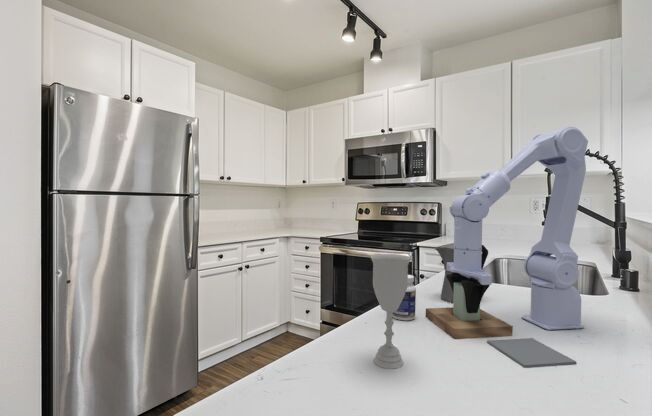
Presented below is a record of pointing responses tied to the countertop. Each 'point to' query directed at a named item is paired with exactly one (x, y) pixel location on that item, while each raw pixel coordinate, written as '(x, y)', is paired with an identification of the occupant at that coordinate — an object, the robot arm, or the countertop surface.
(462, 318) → the sage block
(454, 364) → the countertop surface
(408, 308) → the pill bottle
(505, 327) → the pocket holder
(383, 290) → the chalice
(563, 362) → the slate mat
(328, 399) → the countertop surface
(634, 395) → the countertop surface
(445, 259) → the coffeepot
